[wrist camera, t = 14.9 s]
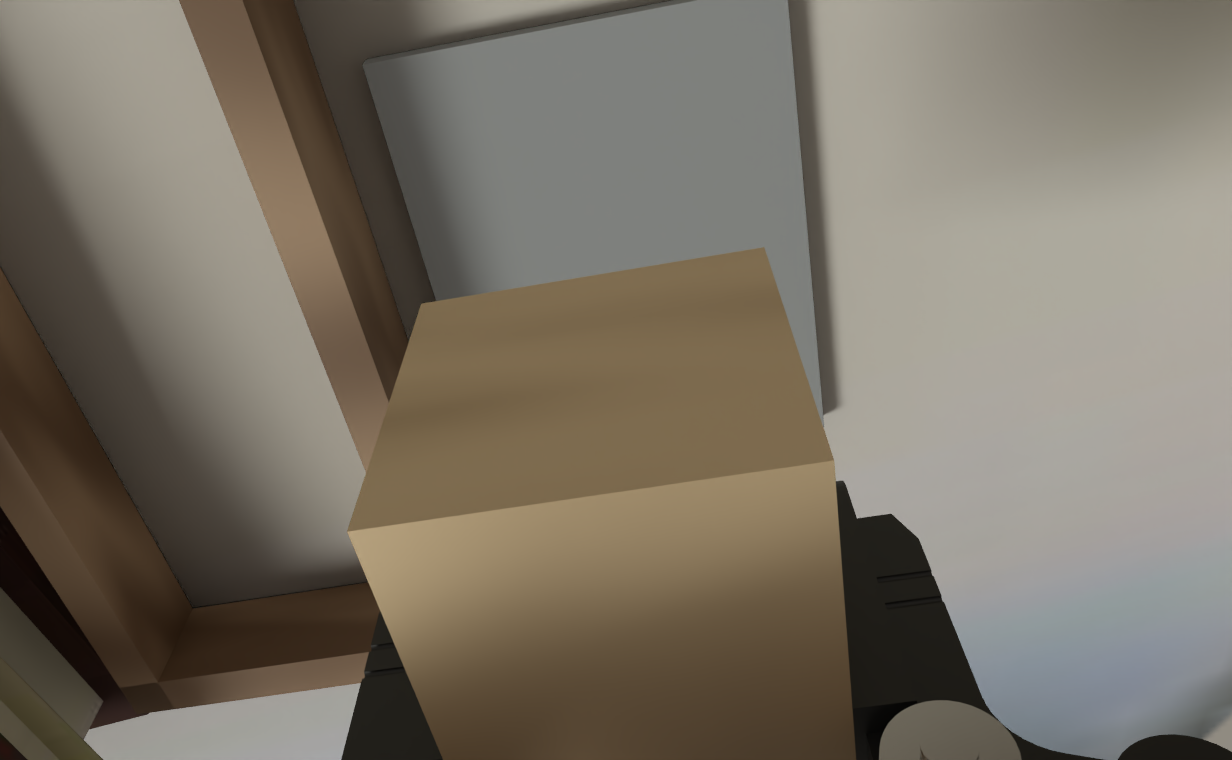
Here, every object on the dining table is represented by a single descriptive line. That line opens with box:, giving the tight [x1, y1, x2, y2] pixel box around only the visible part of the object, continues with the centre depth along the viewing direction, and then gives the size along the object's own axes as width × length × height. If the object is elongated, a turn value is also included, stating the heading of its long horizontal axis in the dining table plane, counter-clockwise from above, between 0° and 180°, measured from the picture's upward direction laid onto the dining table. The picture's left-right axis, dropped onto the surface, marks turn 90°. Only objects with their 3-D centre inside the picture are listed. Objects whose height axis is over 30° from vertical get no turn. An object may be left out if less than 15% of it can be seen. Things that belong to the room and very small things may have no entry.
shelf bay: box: [0, 0, 409, 714], centre depth 21 cm, size 17×9×2 cm, turn 10°
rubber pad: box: [362, 0, 824, 427], centre depth 21 cm, size 10×8×1 cm
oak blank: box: [347, 247, 856, 760], centre depth 12 cm, size 7×4×4 cm, turn 10°
